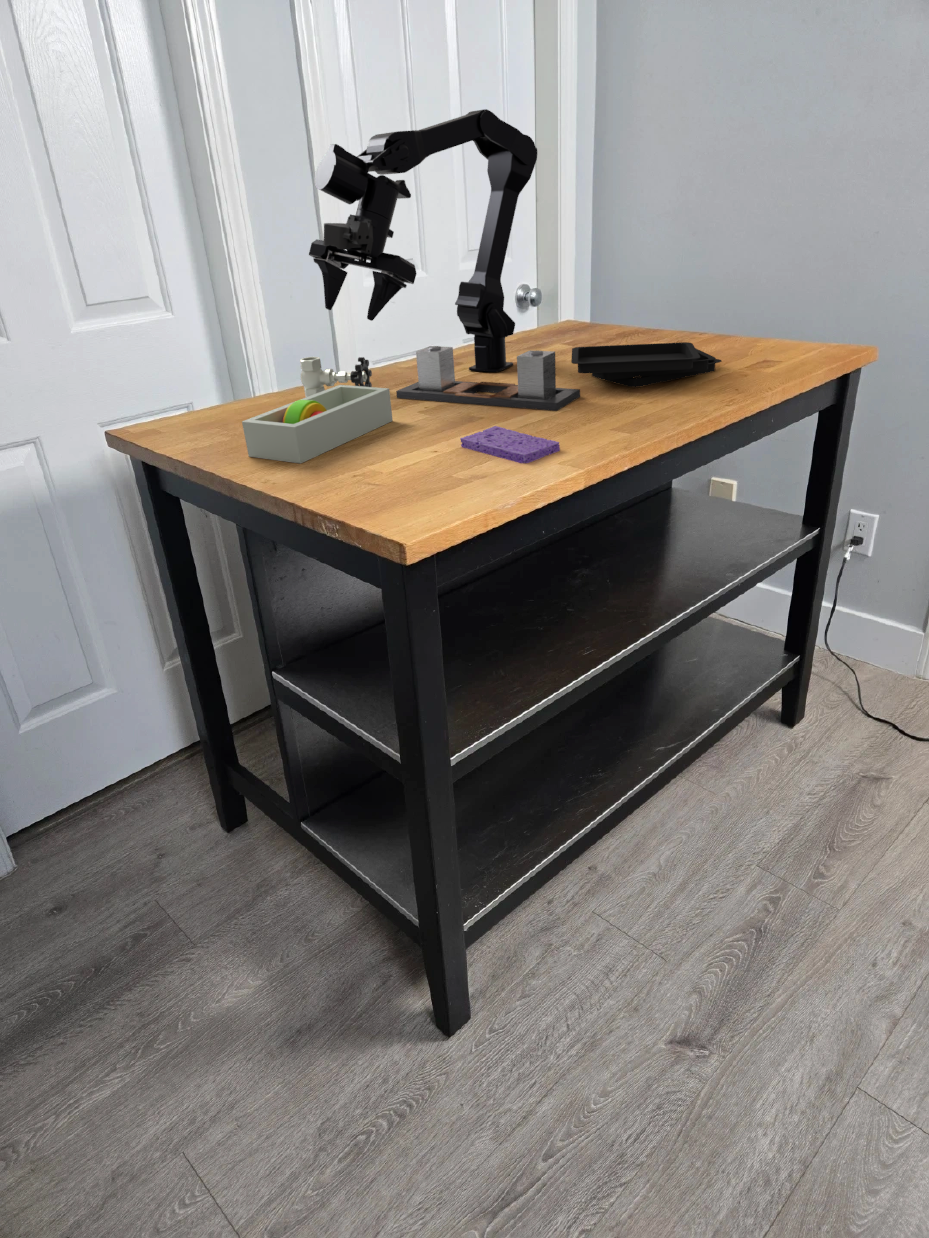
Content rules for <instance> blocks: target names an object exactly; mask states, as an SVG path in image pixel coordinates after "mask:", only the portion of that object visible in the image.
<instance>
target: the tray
mask: <svg viewBox="0 0 929 1238" xmlns="http://www.w3.org/2000/svg"><path fill="white" fill-rule="evenodd" d="M570 363H571V364H573V365H575V364H576V365H577V373H578V374H591V377H593V378H597V379H599V380H603V381H606V380H607V382H611V383H614V384H618V385H621V386H625V387H629V388H640V387H645V386H649V385H654V384H655V385H656V384H661V383H665V382H670V381H674V380H679V379H683V378H689V377H693V376H697V375H703V374H708V373H714V372H715V371H716V364H718V363H722V359H719V358H716V357H715V356H713V355H711V354H708V353H706V352H705V351H702V350H700V349H698V348H696V347H695V346H694V344H693V343H692V342H690V341H689V342H687V341H686V342H684V341H683V342H681V341H680V342H679V341H678V342H663V343H661V342H659V343H658V342H657V343H641V344H638V343H637V344H635V343H634V344H616V345H615V344H613V345H592V346H577V347H575V346H574V347H572V349H571V361H570Z"/></svg>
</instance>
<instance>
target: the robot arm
mask: <svg viewBox="0 0 929 1238" xmlns="http://www.w3.org/2000/svg"><path fill="white" fill-rule="evenodd" d="M472 141H473V143H474V145H475V147H476V149H477V151H478V153H479V154H480V155H481V156H482V157H484V158H485V159H486V160H487V170H486V171H487V175H488V176H487V177H488V180H489V184H490V195H489V199H488V205H487V209H486V214H485V218H484V225H483V227H482V228H483V229H482V234H481V237H480V242H479V248H478V253H477V258H476V262H475V267H474V271H473V274H472V276H471V278H469V281H460V283H459V285H458V296H457V298H456V301H455V302H454V305H455V306H456V315H457V317H458V319H459V321H460V323H461V324H462V325H463V328H464V331H465V334H466V335H473V336H474V337H473V343H474V347H473V349H474V365H471V366H470V367H468V371H476V372H489V373H490V372H492V373H497V372H498V373H499V372H501V371H503V370H505V369H508V368H509V367H513V366H514V362H512V361H511V362H510V361H507V355H506V354H507V353H506V350H507V349H506V338H508V337H509V336H513V335H514V331H515V328H516V327H515V326H516V322H515V321H514V320H513V319H512V317H510V316H509V315H508V313H507V312H506V311H505V310H504V305H505V295H504V293H505V292H504V289H503V285H502V281H501V279H502V273H503V268H504V264H505V260H506V255H507V251H508V247H509V241H510V238H511V237H510V236H511V231H512V227H513V223H514V219H515V212H516V209H517V205H518V199H519V197H520V194H521V193H522V191H523V190H524V188H525V186H526V185H527V184H528V183H529V181H530V180H531V178H532V174H533V172H534V169H535V167H536V163H537V161H538V148H537V147H536V145H535V141H534V140H533V138H532V137H530V136H529V135H528V134H524V133H522V131H521V130H519V129H518V128H516V127H514V126H513V125H511V124H509V123H507V122H505V121H504V120H502V119H500V118H499V117H498V116H497V115H496V114H495V113H494V112H493V111H491V110H489V109H486V108H485V109H480V110H472V111H469V112H467V114H465V115H462V116H458V117H456V118H455V117H454V118H452V119H449V120H447V121H443V122H440V123H437V124H433V125H430V126H427V127H424V128H421V129H419V130H417V129H416V130H415V129H414V130H400V131H391V132H384V133H380V134H379V133H378V134H375V135H373V136H371V137H370V138H369V140H368V144H367V146H366V149H365V150H364V151H362V152H361V153H360V154H358V155H357V156H356V155H354V154H353V153H351V152H349V151H347V150H346V148H344V147H342V146H340V145H339V144H337V143H335V144H334V143H332V144H329V145H328V148H327V152H326V153H325V154H324V155H323V156H322V158H321V160H320V162H319V163H318V165H317V166H316V169H315V173H314V186H315V188H316V189H317V190H319V191H321V192H323V193H325V194H327V195H329V196H331V197H333V198H335V199H337V200H339V201H341V202H343V203H345V204H347V205H352V204H354V203H355V202H356V201H358V205H357V207H356V212H355V214H349V216H348V217H347V220H346V223H343V222H338V223H337V222H333V223H331V222H324V223H323V240H322V239H315V240H314V241H312V242H311V245H310V248H309V253H308V256H309V257H311V258H313V263H315V264H317V265H318V268H319V270H320V271H321V276H322V283H323V293H324V307H325V309H326V310H328V311H331V310H333V307H334V305H335V304H336V301H337V299H338V296H339V295H340V292H341V290H342V288H343V285H344V283H345V280H346V278H347V276H348V274H349V273H348V271H345V269H346V268H347V267H348V266H349V265H351V266H356V267H361V268H365V269H370V270H372V277H373V283H374V284H373V285H374V286H373V289H372V291H371V292H372V293H371V297H370V301H369V305H368V310H367V315H366V316H367V317H366V319H367V320H368V321H371V322H372V321H374V320H375V319H376V317H377V316H378V315H379V313H380V312H381V311H382V310H384V309H383V308H385V306H386V305H387V304H388V303H389V301H390V300H392V299H393V298H394V296H396V295H397V294H398V292H400V290H402V289H407V286H408V285H407V284H411V285H415V280H416V276H417V270H416V266H415V264H414V263H412V262H410V261H409V260H407V259H405V258H403V257H401V255H397V254H393V253H392V254H391V253H387V252H384V250H385V247H386V243H387V239H388V238H390V239H392V238H393V237H394V231H393V230H392V229H391V228H390V227H391V224H392V221H393V217H394V213H395V208H396V205H397V202H398V199H399V200H400V199H410V198H411V197H412V193H411V192H410V190H409V188H408V186H407V184H406V180H405V179H396V180H393V179H391V178H390V177H387V176H386V175H395V174H396V175H397V174H404V173H407V172H409V171H410V170H412V169H413V168H415V167H417V166H418V165H421V163H423V162H424V160H426V159H427V158H428V157H430V156H431V155H433V154H437V153H440V152H442V151H443V152H444V151H446V150H449V149H452V148H455V147H457V146H460V145H463V144H466V143H470V142H472ZM370 172H371V173H372V172H375V173H376V174H378V176H374V175H373V174H371V173H370ZM368 261H369V262H368Z"/></svg>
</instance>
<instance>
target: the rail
mask: <svg viewBox="0 0 929 1238" xmlns="http://www.w3.org/2000/svg"><path fill="white" fill-rule="evenodd" d="M479 392H481V393H479ZM485 393H488V394H485ZM489 393H494V394H489ZM580 397H581V389H579V388H567V387H565V388H563V387H556V395H555V396H553V397H551V398H550V399H548V400H538V399H525V398H518V384H516V383H510V382H508V383H507V382H493V381H480V382H475V381H474V382H473V381H463V380H462V381H459V380H458V381H457V380H455V386H454V387H452V388H449V389H447V390H445V391H443V392H431V391H419V381H416V382H415V383H412V384H410V385H407V386H405V387H403V388H400V389H398V390H396V398H397V399H403V400H405V399H406V400H417V401H431V402H441V403H442V402H443V403H456V404H464V405H465V404H466V405H480V406H492V407H505V408H516V409H517V408H518V409H528V410H529V409H530V410H542V411H552V412H554V411H555V412H557V411H558V410H561V409H562V408H564V407H566V406H567V405H569V404H571V403H573V401H576V400H577V399H579V398H580Z"/></svg>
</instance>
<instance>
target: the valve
mask: <svg viewBox="0 0 929 1238" xmlns="http://www.w3.org/2000/svg"><path fill="white" fill-rule="evenodd" d="M321 361H322V360H321V358H320V357H319V356H306V357H303V358H300V359H299V364H300V369H301V372H300V381H301V382H300V383H301V385H302V386H303V389H304V395H305V398H306V397H308V396H311V395H314V394H316V393H319V392H322V391H324V390H326V389H325V387H324V385H325V386H326V387H335V384H337V383H339V384H346V383H348V381H351V383H352V384H354V386H363V387H373V384H372V382H371V381H370V378H371V377H372V376H373V373H372V370H371V369H369V366H370V360H369V359H366V358H365V357H364V356H361V357H360V356H359V357H358V358H357V362H360V364H354V365H355V366H354V370H352V371H351V372H350V373H348V372H347V371H338V373H337V372H336V371H334V369H333V368H326V369H325V370H323V369H322V362H321Z"/></svg>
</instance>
